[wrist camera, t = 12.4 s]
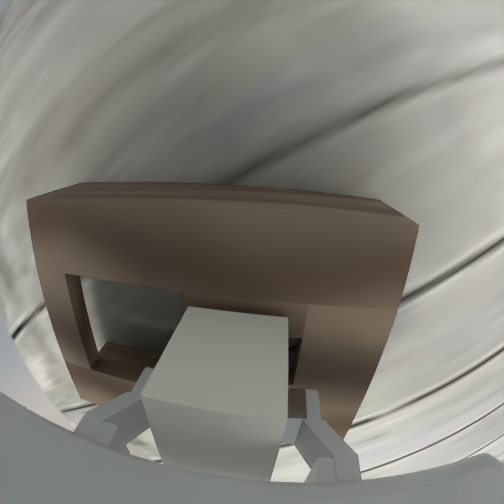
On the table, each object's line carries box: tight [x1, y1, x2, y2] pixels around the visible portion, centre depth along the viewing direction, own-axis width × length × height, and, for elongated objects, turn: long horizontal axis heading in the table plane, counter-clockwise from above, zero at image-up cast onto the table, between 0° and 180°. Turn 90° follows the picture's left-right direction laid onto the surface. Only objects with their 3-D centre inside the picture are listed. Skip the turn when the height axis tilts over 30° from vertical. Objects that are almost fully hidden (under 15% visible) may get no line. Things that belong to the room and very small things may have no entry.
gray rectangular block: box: [140, 306, 288, 481], centre depth 12 cm, size 6×4×8 cm
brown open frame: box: [27, 182, 419, 439], centre depth 16 cm, size 14×18×5 cm
